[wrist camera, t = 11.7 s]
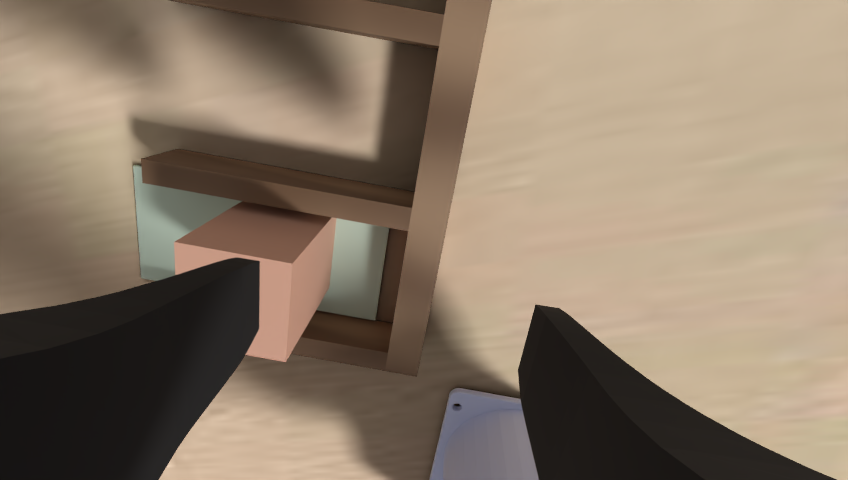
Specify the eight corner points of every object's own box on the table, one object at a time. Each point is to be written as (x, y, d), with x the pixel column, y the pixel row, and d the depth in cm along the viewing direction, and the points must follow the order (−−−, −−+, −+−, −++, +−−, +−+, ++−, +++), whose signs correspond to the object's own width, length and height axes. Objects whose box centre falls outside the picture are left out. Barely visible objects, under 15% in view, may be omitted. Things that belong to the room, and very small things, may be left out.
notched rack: (420, 345, 23) (416, 376, 20) (145, 295, 23) (109, 320, 20) (527, -197, 15) (541, -248, 12) (104, -274, 15) (39, -339, 12)
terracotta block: (329, 287, 22) (285, 362, 16) (249, 272, 22) (178, 342, 16) (337, 211, 20) (292, 263, 15) (251, 195, 20) (174, 241, 15)
